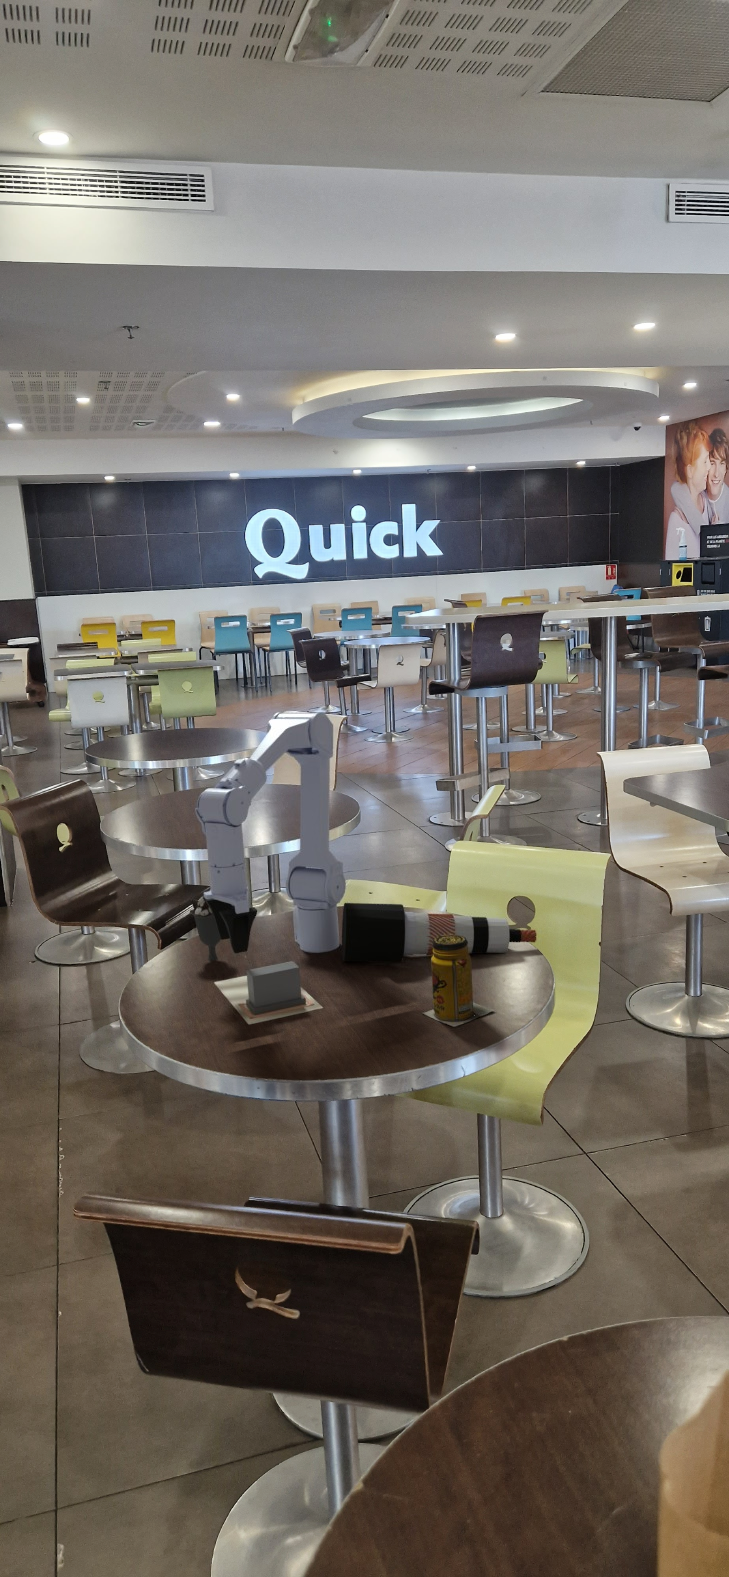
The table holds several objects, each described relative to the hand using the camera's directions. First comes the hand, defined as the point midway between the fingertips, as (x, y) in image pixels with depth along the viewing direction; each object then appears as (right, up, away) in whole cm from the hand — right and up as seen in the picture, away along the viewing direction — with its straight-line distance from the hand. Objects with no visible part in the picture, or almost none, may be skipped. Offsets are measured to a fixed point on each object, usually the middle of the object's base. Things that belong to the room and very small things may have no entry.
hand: (233, 944), depth 162 cm
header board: (+5, -9, +1) cm, 11 cm away
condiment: (+35, -9, -8) cm, 38 cm away
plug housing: (+7, -8, -4) cm, 11 cm away
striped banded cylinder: (+34, -5, +17) cm, 39 cm away
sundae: (-6, -7, +19) cm, 21 cm away
